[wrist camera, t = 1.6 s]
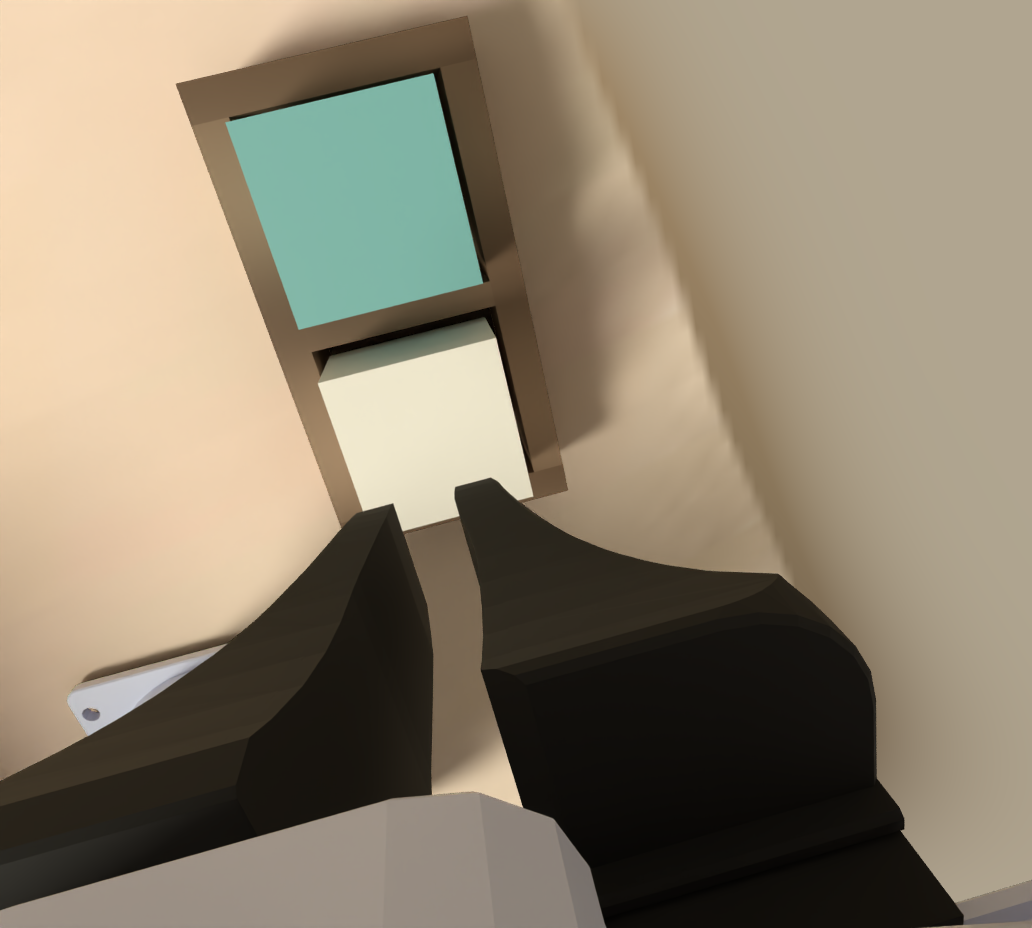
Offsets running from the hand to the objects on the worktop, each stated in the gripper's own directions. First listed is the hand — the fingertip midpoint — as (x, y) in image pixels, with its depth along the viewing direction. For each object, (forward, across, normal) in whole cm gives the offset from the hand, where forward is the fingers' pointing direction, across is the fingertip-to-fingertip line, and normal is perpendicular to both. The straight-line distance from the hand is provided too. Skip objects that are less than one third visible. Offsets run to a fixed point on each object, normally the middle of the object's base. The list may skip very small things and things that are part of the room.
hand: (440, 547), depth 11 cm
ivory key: (+7, 0, 0) cm, 7 cm away
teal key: (+7, 0, -5) cm, 9 cm away
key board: (+9, 0, -3) cm, 10 cm away
